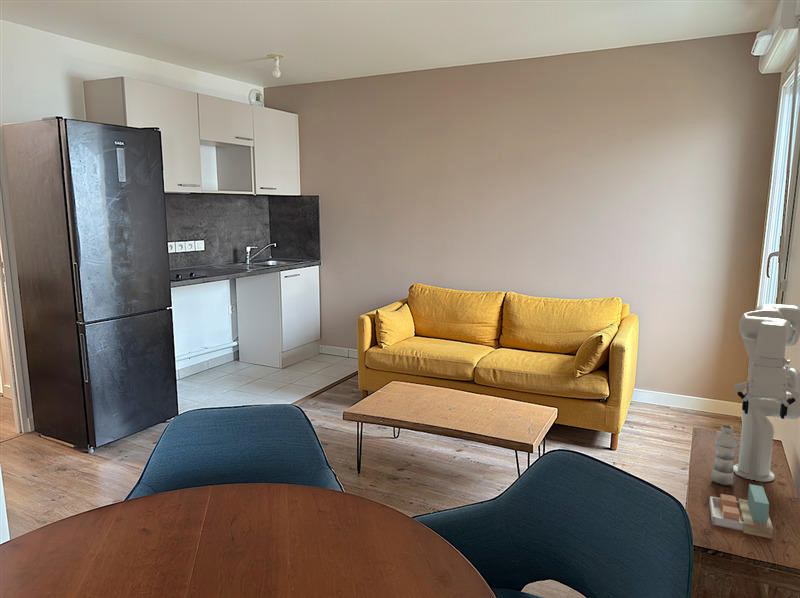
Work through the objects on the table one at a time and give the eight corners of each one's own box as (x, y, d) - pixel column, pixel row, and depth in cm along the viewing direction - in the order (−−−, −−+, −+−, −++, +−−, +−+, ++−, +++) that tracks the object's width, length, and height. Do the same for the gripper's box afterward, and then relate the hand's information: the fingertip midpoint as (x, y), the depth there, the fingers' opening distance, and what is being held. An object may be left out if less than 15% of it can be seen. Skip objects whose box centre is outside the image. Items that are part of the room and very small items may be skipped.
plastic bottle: (714, 477, 198) (719, 421, 196) (736, 483, 194) (741, 427, 191) (708, 482, 194) (713, 426, 191) (730, 489, 189) (735, 432, 186)
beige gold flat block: (737, 507, 177) (738, 498, 177) (763, 512, 174) (764, 503, 174) (743, 532, 163) (744, 522, 162) (772, 538, 160) (773, 528, 159)
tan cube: (734, 508, 176) (719, 505, 177) (735, 496, 175) (720, 493, 177) (735, 514, 172) (720, 511, 174) (736, 502, 172) (721, 499, 173)
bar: (747, 502, 174) (749, 484, 173) (760, 505, 173) (762, 486, 172) (752, 521, 163) (754, 501, 163) (767, 524, 162) (769, 504, 161)
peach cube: (736, 520, 169) (721, 517, 170) (738, 508, 168) (722, 505, 170) (738, 527, 165) (722, 524, 167) (739, 514, 164) (723, 511, 166)
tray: (709, 503, 180) (709, 496, 179) (737, 509, 176) (738, 501, 176) (712, 524, 167) (712, 516, 167) (743, 531, 164) (743, 522, 163)
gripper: (800, 362, 175) (794, 415, 178) (735, 356, 183) (730, 407, 185) (805, 368, 169) (799, 423, 171) (738, 361, 176) (733, 414, 178)
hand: (763, 415), depth 178 cm, fingers open, 9 cm apart
